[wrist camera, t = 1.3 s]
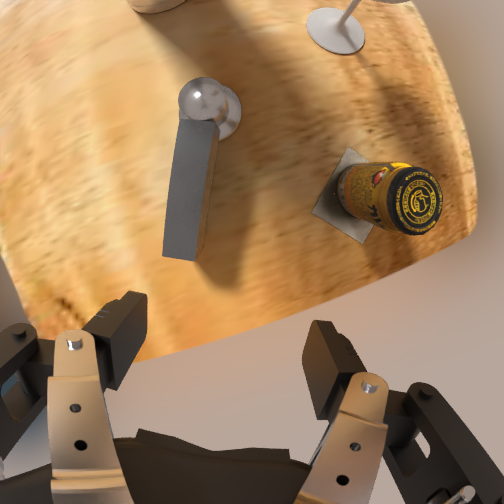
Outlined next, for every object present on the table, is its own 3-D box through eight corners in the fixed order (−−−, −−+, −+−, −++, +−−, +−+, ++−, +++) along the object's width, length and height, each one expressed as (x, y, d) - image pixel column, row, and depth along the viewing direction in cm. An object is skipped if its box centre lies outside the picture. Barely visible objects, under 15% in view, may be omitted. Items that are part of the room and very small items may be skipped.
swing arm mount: (187, 84, 26) (185, 81, 25) (246, 90, 26) (246, 86, 25) (176, 139, 28) (174, 138, 26) (236, 146, 28) (235, 145, 27)
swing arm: (193, 91, 25) (183, 75, 20) (232, 95, 25) (229, 79, 20) (171, 242, 29) (157, 255, 24) (208, 247, 29) (200, 262, 24)
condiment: (396, 182, 29) (462, 191, 18) (361, 243, 31) (415, 280, 19) (347, 146, 28) (402, 134, 16) (310, 212, 30) (348, 236, 18)
